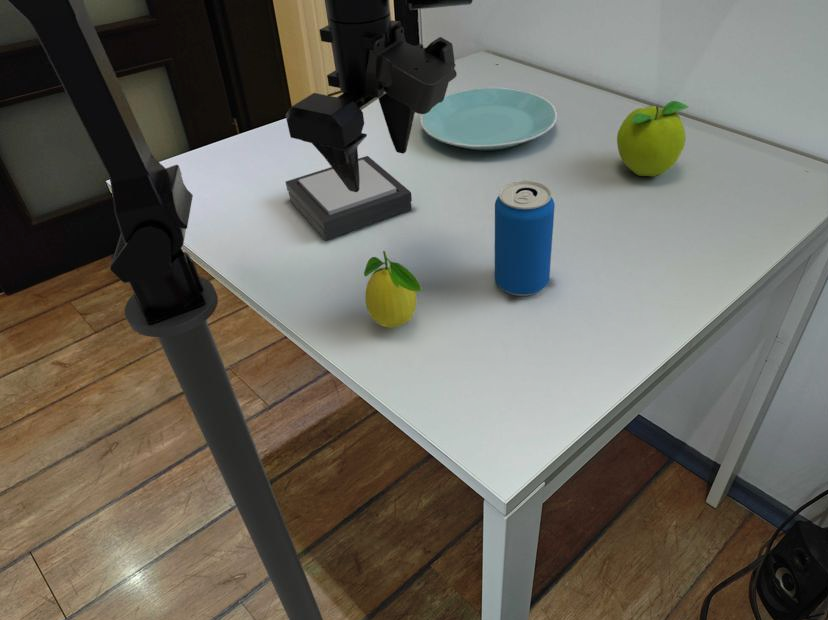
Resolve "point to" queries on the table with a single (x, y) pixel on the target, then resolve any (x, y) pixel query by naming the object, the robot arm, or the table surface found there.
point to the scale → (353, 216)
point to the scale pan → (345, 189)
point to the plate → (489, 118)
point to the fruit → (652, 139)
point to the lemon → (390, 292)
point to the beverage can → (523, 237)
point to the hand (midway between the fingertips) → (378, 171)
